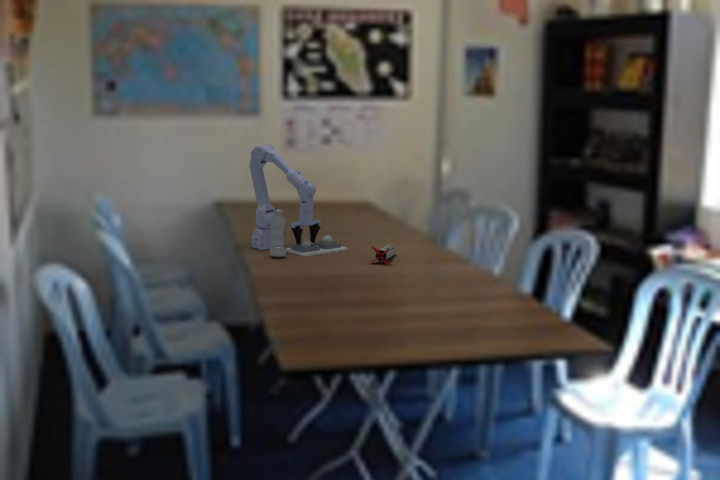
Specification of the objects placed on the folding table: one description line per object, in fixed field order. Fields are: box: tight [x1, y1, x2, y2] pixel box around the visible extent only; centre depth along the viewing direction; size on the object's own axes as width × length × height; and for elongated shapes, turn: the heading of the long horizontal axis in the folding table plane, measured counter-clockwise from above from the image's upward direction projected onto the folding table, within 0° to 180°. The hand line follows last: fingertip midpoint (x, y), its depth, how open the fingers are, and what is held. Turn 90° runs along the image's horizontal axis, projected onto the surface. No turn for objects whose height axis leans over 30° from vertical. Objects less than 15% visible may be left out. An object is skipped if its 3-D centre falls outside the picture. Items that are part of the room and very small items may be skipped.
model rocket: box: [369, 244, 397, 267], centre depth 356 cm, size 11×23×10 cm
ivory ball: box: [299, 237, 312, 247], centre depth 365 cm, size 5×5×5 cm
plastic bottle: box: [269, 208, 287, 259], centre depth 352 cm, size 6×7×20 cm
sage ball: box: [321, 235, 334, 244], centre depth 373 cm, size 5×5×5 cm
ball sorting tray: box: [286, 240, 349, 258], centre depth 369 cm, size 24×14×3 cm, turn 132°
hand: (305, 243), depth 365 cm, fingers open, 7 cm apart
